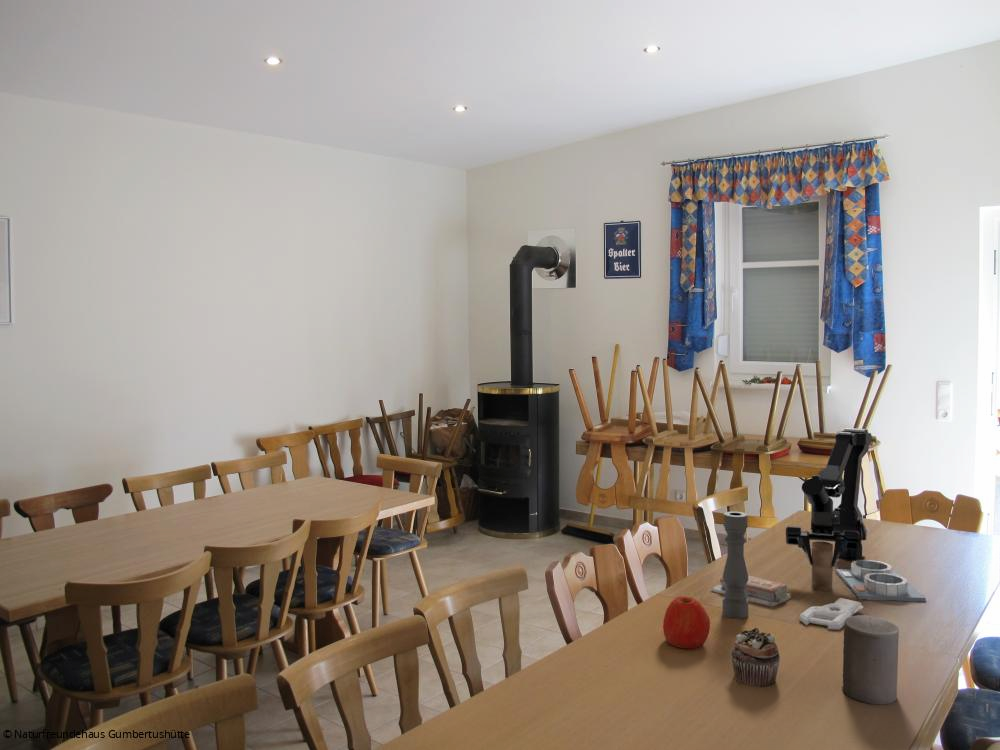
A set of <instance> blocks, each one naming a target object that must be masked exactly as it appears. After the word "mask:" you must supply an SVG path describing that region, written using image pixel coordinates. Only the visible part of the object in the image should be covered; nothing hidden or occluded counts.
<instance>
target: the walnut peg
mask: <svg viewBox="0 0 1000 750" xmlns="http://www.w3.org/2000/svg"><path fill="white" fill-rule="evenodd" d="M833 547H834V545H833V543H832V542H829V541H818V540H817V541H813V542H811V555H812V565H811V588H812V589H813V590H817V591H819V590H822V592H828V591H827V590H830V591H832V590H833V568H834V567H833V554H834V548H833Z"/></svg>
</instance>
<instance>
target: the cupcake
mask: <svg viewBox="0 0 1000 750" xmlns="http://www.w3.org/2000/svg"><path fill="white" fill-rule="evenodd" d="M736 639H737V640H735V641H734V646H733V648H732V649H731V650H730V655H729V656H730V658H731V662H732V667H733V673H734V679H736V681H737V682H738V683H742V684H744V685H746V686H749V687H755V688H766V687H767V688H768V687H770V686H772V685H774V684H775V683H776V680H777V675H778V670H779V665H780V662H781V657H780V651H779V648H778V645H777V643H776V642H775V641H776V638H775V635H774V634H771V633H770V632H769V633H768V632H760V630H759V628H757V627H755V628H753V629H751V630H742V631H741V630H740V632H739V634H736Z"/></svg>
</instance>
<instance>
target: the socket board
mask: <svg viewBox="0 0 1000 750" xmlns="http://www.w3.org/2000/svg"><path fill="white" fill-rule="evenodd" d="M835 573H836V575H839V576H840V577H841V578H842V579H841V578H840V577H839V576H838V577H839V578H840V579H841V580H842V582H844V584H845V583H846V584H847V585H848V586H849V587H850V588H851V589H850V588H849V587H848V586H847V585H846V584H845V585H846V586H847V587H848V588H849V589H850V591H851V592H852V591H853V592H854V593H855V594H856V595H857V596H858V597H857V596H856V595H855V594H854V593H853V592H852V593H853V594H854V595H855V596H856V597H857V598H858V600H859V599H867V600H866V601H887V600H897V601H896V602H918V601H921V602H925V603H926V601H927V600H926V596H924V595H923V594H922V593H921V591H919V590H918V589H916V588H915V587H914V586H913V585H912V584H911V583H910V582H909V581H908V580H907V579H906V578H905V577H903V576H902V575H901V574H899V573H898V571H896V570H893V566H891V565H890V564H889V563H886V562H884V561H883V562H882V561H879V560H873V559H872V560H871V559H858V560H853V561H851V563H850V569H848V568H847V569H846V568H845V569H844V568H840V569H839V568H835ZM921 602H920V603H921Z"/></svg>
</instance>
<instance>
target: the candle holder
mask: <svg viewBox="0 0 1000 750" xmlns="http://www.w3.org/2000/svg"><path fill="white" fill-rule="evenodd" d="M748 518H749V517H748V513H746V512H743V511H725V512H724V513H723V528H724V531H725V532H726V536H725V537H724V541H725V543H726V544H727V547H726V548H727V551H726V552H727V557H726V560H725V565H724V569H723V573H722V577H723V580H724V582H725V584H726V587H727V590H726V592H724V594H723V599H722V615H723V616H725V617H727V618H730V619H736V620H740V619H742V620H743V619H746V618H748V617H749V601H747V600H746V599H747V594H746V593H745V591H744V589H745V587H744V586H745V585H746V584H747V582H748V575H749V573H748V568H747V565H746V561H745V557H744V556H745V555H744V552H745V551H744V550H745V549H744V548H745V546H744V545H745V544H746V543H747V538H746V537H745V535H746V534H745V533H746V532H747V529H748V524H749V523H748V521H749V520H748Z"/></svg>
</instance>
